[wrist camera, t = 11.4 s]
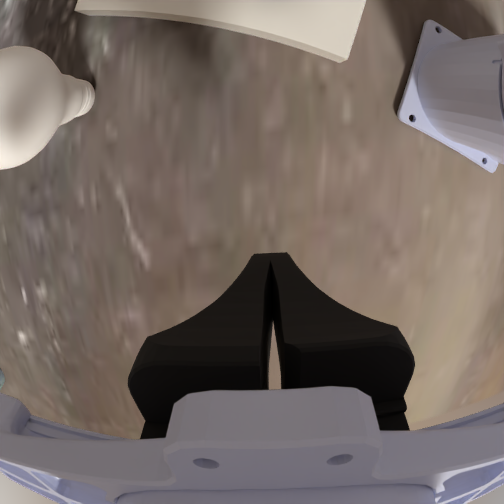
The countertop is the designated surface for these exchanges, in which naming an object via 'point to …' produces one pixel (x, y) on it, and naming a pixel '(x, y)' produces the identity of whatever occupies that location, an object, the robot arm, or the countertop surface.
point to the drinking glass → (1, 379)
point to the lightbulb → (35, 102)
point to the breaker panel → (254, 19)
